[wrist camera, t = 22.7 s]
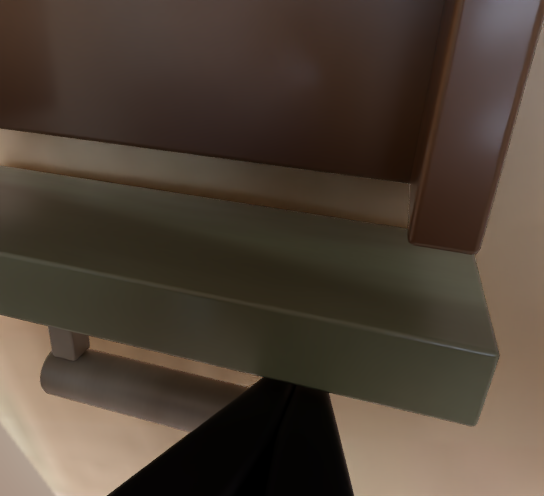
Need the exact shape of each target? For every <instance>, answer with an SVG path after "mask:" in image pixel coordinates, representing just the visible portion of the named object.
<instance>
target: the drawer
mask: <svg viewBox="0 0 544 496" xmlns="http://www.w3.org/2000/svg"><path fill="white" fill-rule="evenodd" d="M543 20H544V0H0V128H1V129H8V130H15V131H23V132H30V133H38V134H45V135H52V136H60V137H67V138H75V139H82V140H89V141H97V142H104V143H112V144H119V145H126V146H134V147H141V148H149V149H156V150H163V151H171V152H178V153H186V154H193V155H200V156H208V157H215V158H223V159H230V160H237V161H245V162H252V163H260V164H267V165H275V166H282V167H289V168H297V169H304V170H312V171H319V172H326V173H334V174H341V175H349V176H356V177H363V178H371V179H378V180H386V181H393V182H400V183H408V184H410V190H409V210H408V229H406V228H399V227H393V226H386V225H380V224H373V223H367V222H361V221H354V220H348V219H341V218H335V217H328V216H322V215H316V214H309V213H303V212H296V211H290V210H283V209H277V208H270V207H264V206H258V205H251V204H245V203H238V202H232V201H225V200H219V199H213V198H206V197H200V196H193V195H187V194H180V193H174V192H167V191H161V190H155V189H148V188H142V187H135V186H129V185H122V184H116V183H110V182H103V181H97V180H90V179H84V178H77V177H71V176H65V175H58V174H52V173H45V172H39V171H32V170H26V169H19V168H13V167H7V166H0V315H4V316H8V317H12V318H16V319H21V320H25V321H29V322H33V323H37V324H42V325H46V326H48V329H49V335H50V340H51V346H52V351H51V352H50V353H49V355H48V356H47V358H46V360H45V362H44V364H43V367H42V370H41V376H40V382H41V387H42V389H43V390H44V391H45V392H46V393H48V394H51V395H55V396H59V397H62V398H66V399H70V400H73V401H77V402H81V403H84V404H88V405H91V406H95V407H99V408H102V409H106V410H110V411H113V412H117V413H121V414H124V415H128V416H132V417H135V418H139V419H143V420H146V421H150V422H154V423H157V424H161V425H165V426H168V427H172V428H176V429H179V430H183V431H187V432H192V431H193V430H194V429H196V428H197V427H198V426H200V425H201V424H202V423H203V422H205V421H206V420H207V419H209V418H210V417H211V416H213V415H214V414H215V413H217V412H218V411H219V410H221V409H222V408H223V407H225V406H226V405H227V404H229V403H230V402H231V401H233V400H234V399H235V398H236V397H238V396H239V395H240V394H242V393H243V392H244V391H246V390H247V389H248V388H249V387H244V386H240V385H236V384H232V383H228V382H224V381H220V380H216V379H212V378H208V377H204V376H199V375H195V374H191V373H187V372H183V371H179V370H175V369H171V368H167V367H163V366H158V365H154V364H150V363H146V362H142V361H138V360H134V359H130V358H126V357H122V356H117V355H113V354H109V353H105V352H101V351H97V350H93V349H89V346H90V343H89V336H92V337H96V338H101V339H105V340H109V341H113V342H118V343H122V344H126V345H130V346H134V347H139V348H143V349H147V350H151V351H156V352H160V353H164V354H168V355H172V356H177V357H181V358H185V359H189V360H193V361H198V362H202V363H206V364H210V365H215V366H219V367H223V368H227V369H231V370H236V371H240V372H244V373H248V374H252V375H257V376H261V377H265V378H269V379H274V380H278V381H282V382H286V383H290V384H295V385H299V386H303V387H307V388H311V389H316V390H320V391H324V392H328V393H333V394H337V395H341V396H345V397H349V398H354V399H358V400H362V401H366V402H370V403H375V404H379V405H383V406H387V407H392V408H396V409H400V410H404V411H408V412H413V413H417V414H421V415H425V416H429V417H434V418H438V419H442V420H446V421H451V422H455V423H459V424H463V425H467V426H475V425H476V424H477V422H478V420H479V417H480V414H481V411H482V408H483V405H484V402H485V399H486V396H487V393H488V390H489V387H490V384H491V381H492V378H493V375H494V372H495V368H496V365H497V362H498V359H499V356H500V355H499V350H498V346H497V342H496V339H495V335H494V331H493V327H492V323H491V319H490V315H489V311H488V307H487V303H486V299H485V295H484V291H483V288H482V284H481V280H480V276H479V272H478V268H477V264H476V260H475V256H474V254H477V252H478V251H479V250H480V248H481V245H482V241H483V238H484V234H485V230H486V227H487V223H488V220H489V216H490V212H491V209H492V205H493V201H494V198H495V194H496V191H497V187H498V183H499V180H500V176H501V172H502V169H503V165H504V162H505V158H506V154H507V151H508V147H509V143H510V140H511V136H512V133H513V129H514V125H515V122H516V118H517V115H518V111H519V107H520V104H521V100H522V96H523V93H524V89H525V86H526V82H527V78H528V75H529V71H530V67H531V64H532V60H533V57H534V53H535V49H536V46H537V42H538V38H539V35H540V31H541V28H542V24H543Z"/></svg>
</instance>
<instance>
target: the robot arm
mask: <svg viewBox="0 0 544 496" xmlns="http://www.w3.org/2000/svg"><path fill="white" fill-rule="evenodd" d="M107 496H354V493H353V489H352V485H351V481H350V477H349V473H348V468H347V464H346V460H345V456H344V452H343V448H342V444H341V440H340V436H339V432H338V428H337V424H336V420H335V416H334V412H333V408H332V404H331V400H330V396H329V393H328V392H324V391H320V390H316V389H311V388H307V387H303V386H299V385H295V384H290V383H286V382H282V381H278V380H274V379H269V378H265V377H263V378H262V379H260V380H259V381H258V382H256V383H255V384H254V385H252V386H251V387H250V388H248V389H247V390H246V391H244V392H243V393H242V394H240V395H239V396H238V397H236V398H235V399H234V400H233V401H231V402H230V403H229V404H227V405H226V406H225V407H223V408H222V409H221V410H219V411H218V412H217V413H215V414H214V415H213V416H211V417H210V418H209V419H207V420H206V421H205V422H203V423H202V424H201V425H200V426H198V427H197V428H196V429H194V430H193V431H192V432H190V433H189V434H188V435H186V436H185V437H184V438H182V439H181V440H180V441H178V442H177V443H176V444H174V445H173V446H172V447H170V448H169V449H168V450H167V451H165V452H164V453H163V454H161V455H160V456H159V457H157V458H156V459H155V460H153V461H152V462H151V463H149V464H148V465H147V466H145V467H144V468H143V469H141V470H140V471H139V472H137V473H136V474H135V475H134V476H132V477H131V478H130V479H128V480H127V481H126V482H124V483H123V484H122V485H120V486H119V487H118V488H116V489H115V490H114V491H112V492H111V493H110V494H108V495H107Z"/></svg>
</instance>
